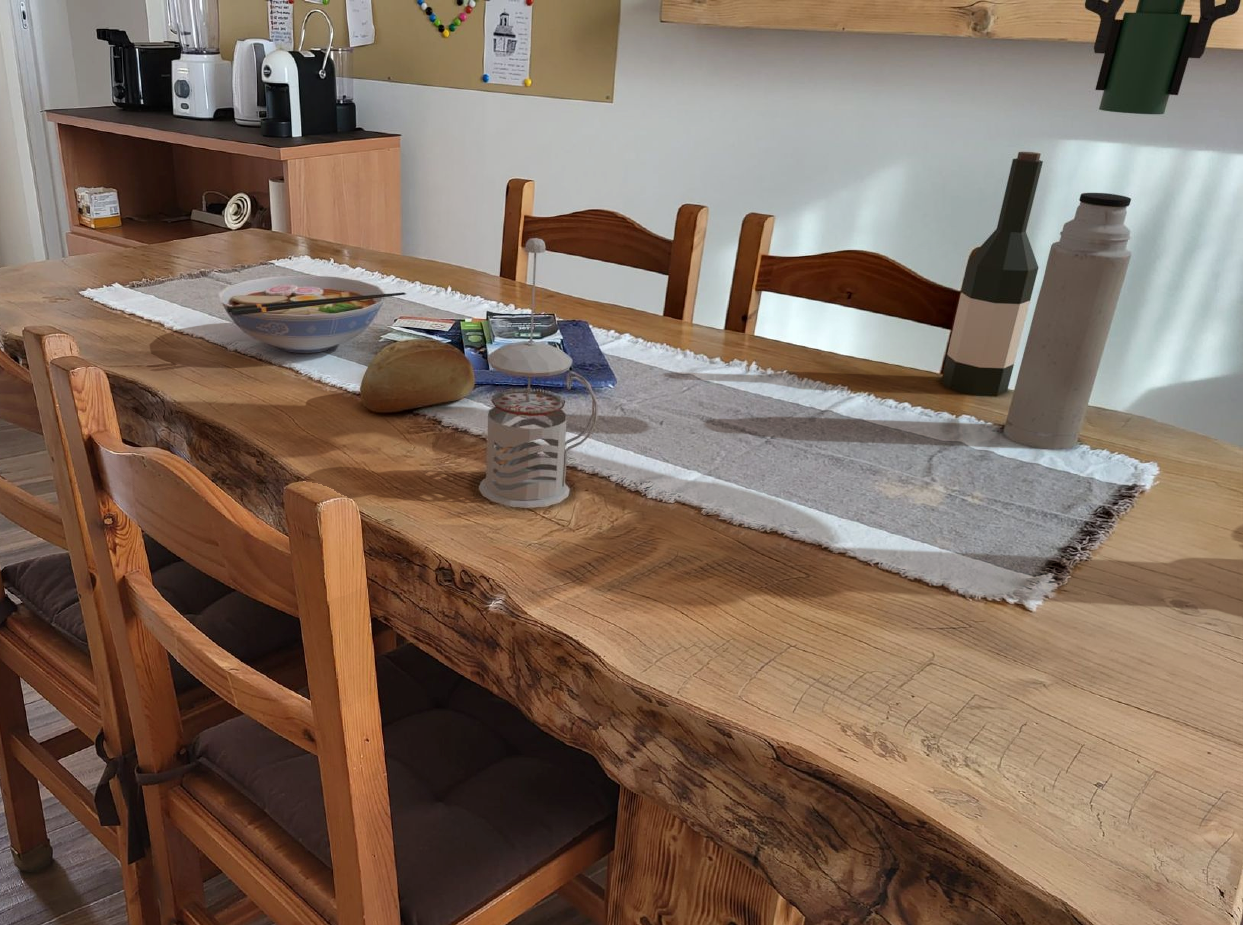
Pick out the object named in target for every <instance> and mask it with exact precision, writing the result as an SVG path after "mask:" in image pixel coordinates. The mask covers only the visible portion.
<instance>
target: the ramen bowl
mask: <svg viewBox="0 0 1243 925" xmlns="http://www.w3.org/2000/svg"><path fill="white" fill-rule="evenodd" d="M406 295H407V292H393V293H391V292H390V293H387V292H385V290H383V289H382V288H381V287H380V286H379V285H377V284H374V283H373V284H372V283H370V282H367V281H363V280H360V279H353V278H345V277H339V276H328V275H306V274H305V275H304V274H303V275H302V274H301V275H300V274H299V275H280V276H268V277H262V278H254V279H247V280H244V281H243V280H242V281H241V282H238V283H237V282H236V283H234V284H230V285H226V286H225V287H224V288H223V289H221V291H220V292H218V293H217V296H218V298H219V301H220V303H221V305H222V306H223V308H224V310H225V311H226V313H227V315H228V316H229V317H230V319H231V320H232V321H233V323H234V324H235V325H236V326H237V327H238V328H239V329H240V331H242V332H243V333H244V334H246V335H248V336H249V337H251V338H252V339H255V340H257V341H259V342H261V343H264V344H267V345H270V346H273V347H277V348H278V349H280V350H283V351H285V352H289V353H295V354H313V353H321V352H325V351H328V350H330V349H332V348H333V347H335V346H337V345H340V344H343V343H346V342H348V341H350V340H352V339H355V338H356V337H358V336H359V335H361V334H362V333H365V331H366V330H367V329H368V328H369V326H370V325H371V324H372V323H373V320H374V319H375V318H376V316H377V314H378V313H379V312H380V310H381V307H382V306H383V303H384V301H385V299H386V298H390V297H396V296H406Z"/></svg>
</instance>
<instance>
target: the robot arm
mask: <svg viewBox="0 0 1243 925" xmlns="http://www.w3.org/2000/svg"><path fill="white" fill-rule="evenodd" d="M1241 1H1242V0H1225V2H1224V3H1221V4H1217V5H1216V0H1199V19H1198V22H1194V21H1191V22H1190V24H1189V28H1188V31H1187V35H1186V38H1185V42H1184V45H1183V49H1182V52H1181V56H1180V59H1179V63H1178V66H1177V70H1176V73H1175V77H1174V80H1173V83H1172V87H1171V90H1170V94H1169V96H1179V93H1180V89H1181V86H1182V84H1183V83H1182V82H1183V79H1184V76H1185V72H1186V68H1187V65H1188V62H1189V59H1201V58H1202V57H1203V55H1204V53H1205V50H1206V47H1207V43H1208V41H1209V36H1210V33H1211V31H1212V26H1213V25H1214V23H1215V22H1216V21H1217V20H1220V19H1223V18H1226V17H1229V16H1232V15H1235V14H1237V12H1239V9H1240V5H1241ZM1124 3H1125V0H1107V1H1106V0H1085V1H1084V8H1085V9H1086V10H1087V11H1090V12H1092V13H1094V14H1096V15H1098V16H1099V19H1100V21H1099V26H1098V29H1097V33H1096V38H1095V41H1094V45H1093V51H1094V54H1104V55H1103V57H1102V58H1103V59H1102V62H1101V66H1100V70H1099V74H1098V78H1097V82H1096V85H1095V89H1094V90H1095V91H1104V88H1105V84H1106V80H1107V77H1108V73H1109V69H1110V65H1111V61H1112V58H1113V54H1114V50H1115V46H1116V42H1117V38H1118V35H1119V31H1120V27H1121V23H1122V19H1120V18H1119V19H1116V18H1117V15H1118V13H1119V11H1120V9H1121V7H1122V6H1123V4H1124Z"/></svg>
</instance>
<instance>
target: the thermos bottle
mask: <svg viewBox="0 0 1243 925" xmlns="http://www.w3.org/2000/svg"><path fill="white" fill-rule="evenodd" d="M1078 200H1079V205H1078V206H1077V207H1076V211H1075V215H1074V218H1073V219H1071V220H1069V221H1066V222H1065V223H1064V224H1063V226H1062V230H1061V231H1060V232H1059V235H1060V238H1059V241H1056V242H1053V243H1051V245H1050V248H1049V253H1048V257H1047V261H1046V266H1045V270H1044V275H1043V279H1042V283H1041V286H1040V289H1039V293H1038V296H1037V300H1036V303H1035V308H1034V312H1033V316H1032V319H1031V322H1030V327H1029V332H1028V335H1027V338H1026V343H1025V346H1024V350H1023V354H1022V358H1021V363H1020V366H1019V370H1018V373H1017V378H1016V382H1015V385H1014V388H1013V393H1012V398H1011V401H1010V405H1009V409H1008V412H1007V416H1006V420H1005V424H1004V429H1003V434H1004V435H1005V437H1007V438H1008V439H1010V440H1012V441H1014V442H1016V443H1018V444H1022V445H1025V446H1029V447H1033V448H1037V449H1044V450H1056V451H1059V450H1060V451H1061V450H1069V449H1070V450H1071V449H1072V448H1075V447H1076V446H1077V445H1078V444H1077V443H1078V440H1079V437H1080V433H1081V430H1082V427H1083V423H1084V420H1085V416H1086V412H1087V409H1088V406H1089V402H1090V398H1091V396H1092V392H1093V388H1094V385H1095V382H1096V378H1097V375H1098V371H1099V369H1100V368H1099V367H1100V364H1101V361H1102V357H1103V354H1104V351H1105V347H1106V344H1107V340H1108V337H1109V333H1110V330H1111V326H1112V323H1113V320H1114V317H1115V313H1116V309H1117V306H1118V302H1119V299H1120V297H1121V292H1122V288H1123V285H1124V283H1125V282H1124V281H1125V278H1126V275H1127V271H1128V267H1129V266H1130V262H1131V258H1132V251H1130V250H1129V249H1127V246H1128V242H1129V240H1131V238H1132V237H1131V230H1130V229H1129V228H1128V227H1127V226H1126V225H1125V221H1126V216H1127V212H1128V211H1127V208H1128V207H1129V206H1130V205H1131V201H1132V198H1131V197H1129V196H1125V195H1121V194H1114V193H1106V192H1082V193H1080V196H1079V199H1078Z"/></svg>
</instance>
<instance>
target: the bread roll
mask: <svg viewBox="0 0 1243 925" xmlns="http://www.w3.org/2000/svg"><path fill="white" fill-rule="evenodd" d="M475 385H476V377H475V374H474V367H473V363H472V361H470V359H469V358H468V357H467V355H465V354H464V353H463V352H462V350H460V349H459V348H457V347H455V346H454V345H452V344H449V343H447V342H443V341H441V340H437V339H432V338H412V339H411V338H410V339H404V340H399V341H395V342H393V343H390V344H388V345H386V346H385V347H383V348H382V349H381V350H380V351H378V352H377V354H376V355H375V357H374V358H372V360H371V361H370V363H369V364H368V366H367V368H366V370H365V372H364V374H363V377H362V379H361V383H360V387H359V391H360V394H359V395H360V399H361V402H362V403H363V406H364V407H365V408H367V409H368V410H370V411H372V412H374V413H378V414H379V413H380V414H382V413H384V414H385V413H397V412H403V411H407V410H412V409H417V408H422V407H427V406H431V405H438V404H441V403H442V404H443V403H449V402H453V401H458V400H461V399H464V398H466V397H467V396H468V395H470V394H471V393H472V391H473V389H474V388H475Z"/></svg>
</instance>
